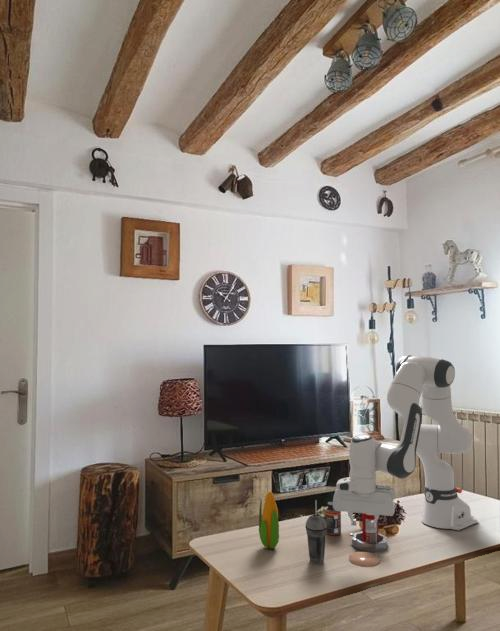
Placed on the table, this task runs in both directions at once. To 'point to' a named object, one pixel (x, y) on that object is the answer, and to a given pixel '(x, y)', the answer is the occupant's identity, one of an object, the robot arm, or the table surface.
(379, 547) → the collar
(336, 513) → the supplement bottle
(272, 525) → the corn
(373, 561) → the peach dome
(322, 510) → the fruit
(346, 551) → the table surface
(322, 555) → the beverage cup
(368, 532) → the soda can
